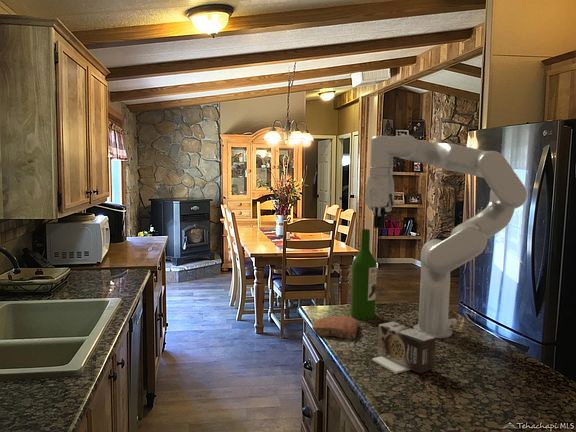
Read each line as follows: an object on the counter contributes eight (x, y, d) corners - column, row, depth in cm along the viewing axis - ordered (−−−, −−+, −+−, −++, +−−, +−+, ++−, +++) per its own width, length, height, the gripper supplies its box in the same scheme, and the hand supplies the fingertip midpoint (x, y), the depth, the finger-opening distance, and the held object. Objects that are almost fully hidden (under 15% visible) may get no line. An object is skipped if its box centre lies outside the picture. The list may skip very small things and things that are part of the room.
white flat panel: (403, 353, 146) (403, 351, 146) (428, 365, 137) (428, 363, 137) (372, 360, 140) (372, 358, 140) (396, 373, 131) (396, 371, 131)
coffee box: (377, 324, 142) (420, 341, 129) (393, 320, 146) (436, 336, 132) (376, 354, 143) (419, 374, 130) (392, 350, 146) (435, 369, 133)
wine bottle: (368, 321, 175) (372, 231, 172) (346, 316, 180) (349, 229, 177) (378, 315, 183) (382, 229, 179) (357, 311, 188) (360, 227, 184)
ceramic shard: (317, 308, 173) (359, 318, 170) (314, 326, 173) (356, 336, 170) (312, 315, 158) (357, 325, 155) (308, 335, 158) (353, 345, 155)
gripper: (358, 172, 167) (356, 225, 169) (387, 173, 154) (385, 230, 156) (375, 172, 171) (373, 224, 173) (405, 173, 158) (402, 229, 160)
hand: (378, 227), depth 164 cm, fingers closed
